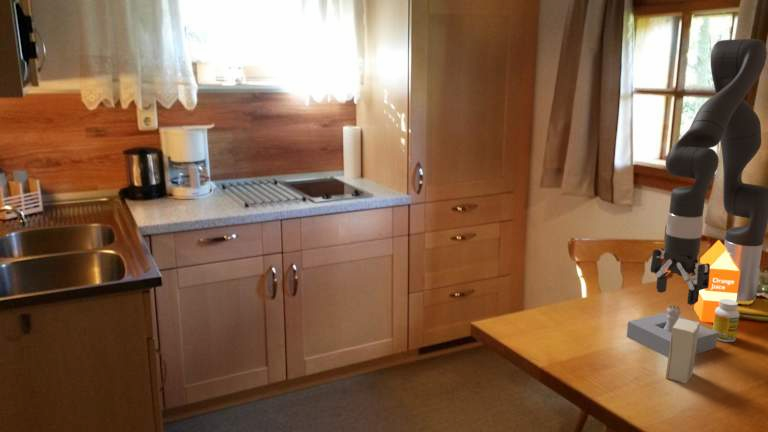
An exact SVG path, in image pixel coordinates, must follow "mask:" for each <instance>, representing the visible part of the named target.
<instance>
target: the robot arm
mask: <svg viewBox="0 0 768 432" xmlns="http://www.w3.org/2000/svg"><path fill="white" fill-rule="evenodd" d="M767 54H768V53H767V45H766V44H765V42H764V41H763V40H762V39H757V38H747V39H746V38H743V39H742V38H740V39H739V38H737V39H723V40H719V41H717V42H716V43H715V44H714V45H713V47H712V49H711V53H710V71H711V78H712V82H713V87H714V91H715V94H714V95H712V96H711V97H709V98H708V99H707V100H706V101H705V102H704V103H702V105H701V106H700V108H699V109H698V110H697V112H696V114H695V116H694V119H693V121H692V122H691V124H690V127H689V128H688V130H687V131H686V132H685V133H684V134H683V135H682V136H681V137H680V138H679V140H677V141H676V142H675V143H674V144H673V146H671V148H670V150H669V151H668V153H667V154H666V158H665V168H666V170H667V172H668V173H669V174H670V175H672V176H674V177H679V178H680V177H681V178H686V179H687V178H689V179H695V180H694V183H693V184H692V185H689V186H687V185H686V186H678V187H675V188H674V189H672V191H671V195H670V201H669V202H670V204H669V211H668V212H669V213H668V217H667V220H666V228H665V229H666V230H665V238H664V246H663V247H664V248H663V247H661V248H657V249H656V248H655V249H653V252H652V258H651V264H650V273H652V274H653V273H654V274H655V276H656V278H657V279H656V285H655V287H656V289H657V292H658V293H660V294H661V293H666V291H667V286H668V274H670V273H671V274H676V275H677V276H680V277H682V278H683V280H684V281H685V282H686V283H687V286H688V287H689V288H688V294H687V301H686V302H687V303H686V304H687V305H690V306H692V305H695V303H696V302H698V298H699V291H700V290H703V289H707V288H708V287H709V274H710V264H709V263H705V264H702V263H700V261H699V260H698V256H699V253H700V251H701V242H702V236H703V227H704V226H703V225H704V222H703V221H704V220H703V219H704V216H703V215H704V208H705V207H704V206H705V200H706V197H707V193H708V190H709V188H710V185H711V183H712V180H713V178H714V176H715V174H716V171H717V169H718V167H719V163H720V160H719V155H718V153H717V152H716V151H715V149H713V148H714V147H716V146H718V144H719V143H720V147H721V156H722V157H721V158H722V165H723V166H722V167H723V168H722V169H723V190H722V192H723V193H722V194H723V196H722V197H723V198H722V199H723V200H722V201H723V208H724V210H725V212H726V214H728V215H731V216H735V217H740V218H746V219H749V223H748V224H747V225H743V226H735V227H734V226H733V227H730V228H728V229H726V232H725V237H724V244H723V245H724V246H725V248H726V249H727V251H728V253H729V254H730V256H731V258H732V259H733V261H734V262H735V264H736V266H737V267H738V269H739V270H740V278H739V284H738V291H737V299H736V301H751V300H754V298H756V299H757V294H758V287H759V280H760V275H761V268H760V265H761V261H762V260H761V259H762V252H763V245H764V239H765V236H766V232H767V227H768V186H766V185H760V184H759V185H757V184H752V183H751V184H750V183H746V182H743V181H742V174H743V171H744V169H745V168H746V166H747V165H748V164H749V163H750V162H751V161H752V159H754V157H755V156H756V155H757V154H758V151H760V149H761V146H762V126H761V125H762V124H761V120H760V118H759V116H758V114H757V113H756V111H755V110H754V109H753V108H752V107H751V105H750V104H749V103H748V101H746V100H745V98H746V96H747V94H748V93H749V91H751V89H752V87H753V86H754V84H755V83H756V82H757V80H758V79H759V77H760V76H761V74H762V72H763V70H764V68H765V66H766V63H767V62H766V61H767V56H768V55H767ZM664 262H665V263H664ZM663 263H664V264H663ZM690 274H691V275H690ZM754 301H755V300H754Z"/></svg>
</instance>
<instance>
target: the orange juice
mask: <svg viewBox="0 0 768 432" xmlns="http://www.w3.org/2000/svg"><path fill="white" fill-rule="evenodd" d="M699 263H702V264H705V263H709V264H710V274H709V287H708V288H707V289H703V290H700V291H699V298H698V302H696V303H695V304H693V305H694V306H693V309H694V312H695V314H696V315H697V316H698V319H699V320H700V322H702V323H704V322H705V323H713V322H714V314H715V309H716V308H717V307H720V306H719V301H720V299H731V300H734V301H736V299H737V291H738V284H739V278H740V270H739V269H738V267H737V266H736V264H735V262H734V261H733V259H732V258H731V256H730V254H729V253H728V251H727V249H726V248H725V246H724V244H723V243H722V242H721V240H720V239H718V240H717V241H715V243H714V244H713V245H712V246H711V247H710V248H709V249H707V251H706V252H705V253H704V254H703V255H702V256H701V257H700V258H699Z"/></svg>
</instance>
